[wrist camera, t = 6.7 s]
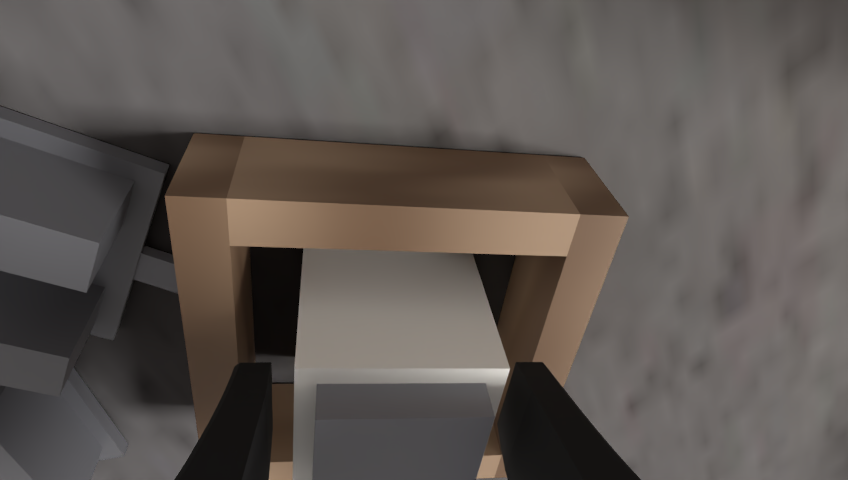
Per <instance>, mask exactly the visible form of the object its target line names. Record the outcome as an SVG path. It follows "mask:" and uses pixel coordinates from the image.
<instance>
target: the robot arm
mask: <svg viewBox="0 0 848 480" xmlns="http://www.w3.org/2000/svg"><path fill="white" fill-rule="evenodd" d="M497 426H498V432H499V439H500V445H501V451H502V456H503V462H504V467H505V471H506V475H507V479H508V480H641V479H640V478H639V477H638V476H637V475H636V474H635V473H634V472H633V471H632V470H631V469H630V467H629V466H628V465H627V464H626V463H625V462H624V461H623V460H622V459H621V457H620V456H619V455H618V454H617V453H616V452H615V451H614V449H613V448H612V447H611V446H610V445H609V444H608V442H607V441H606V440H605V439H604V438H603V436H602V435H601V434H600V433H599V432H598V431H597V429H596V428H595V427H594V426H593V425H592V423H591V422H590V421H589V420H588V418H587V417H586V416H585V415H584V414H583V412H582V411H581V410H580V409H579V407H578V406H577V405H576V404H575V402H574V401H573V400H572V398H571V397H570V396H569V395H568V393H567V392H566V391H565V390H564V388H563V387H562V386H561V384H560V383H559V382H558V381H557V379H556V378H555V377H554V375H553V374H552V373H551V372H550V370H549V369H548V368H547V367H546V365H545V364H544V363H543V362H516V363H515V366H514V370H513V373H512V376H511V380H510V383H509V386H508V389H507V393H506V396H505V399H504V402H503V406H502V409H501V412H500V415H499V419H498V422H497ZM272 434H273V410H272V372H271V363H239V364H237V365H236V366H235V367H234V369H233V371H232V374H231V377H230V379H229V382H228V384H227V386H226V389H225V391H224V393H223V395H222V397H221V399H220V401H219V403H218V405H217V407H216V409H215V411H214V413H213V415H212V417H211V419H210V421H209V423H208V425H207V426H206V428H205V430H204V432H203V433H202V435H201V437H200V439H199V440H198V442H197V444H196V446H195V447H194V449H193V451H192V453H191V454H190V456H189V458H188V459H187V461H186V463H185V464H184V466H183V467H182V469H181V470H180V472H179V474H178V475H177V477H176V478H175V480H269V471H270V459H271V447H272Z"/></svg>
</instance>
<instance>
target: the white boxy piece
mask: <svg viewBox="0 0 848 480" xmlns="http://www.w3.org/2000/svg"><path fill="white" fill-rule="evenodd" d="M509 371H510V367H509V364H508V360H507V357H506V354H505V351H504V348H503V345H502V342H501V339H500V336H499V333H498V330H497V327H496V324H495V321H494V318H493V315H492V311H491V308H490V305H489V302H488V299H487V296H486V293H485V290H484V287H483V284H482V281H481V278H480V275H479V272H478V269H477V266H476V263H475V259H474V256H473V253H441V252H409V251H378V250H346V249H314V248H303V260H302V273H301V287H300V300H299V313H298V327H297V340H296V354H295V367H294V424H293V480H476V478H477V474H478V471H479V468H480V465H481V461H482V458H483V455H484V452H485V448H486V445H487V442H488V439H489V436H490V432H491V429H492V426H493V423H494V419H495V416H496V413H497V410H498V406H499V403H500V400H501V397H502V393H503V390H504V387H505V384H506V380H507V377H508V374H509Z"/></svg>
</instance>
